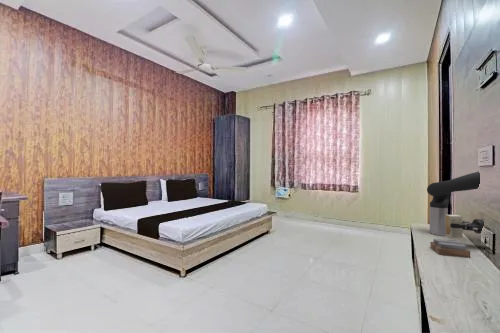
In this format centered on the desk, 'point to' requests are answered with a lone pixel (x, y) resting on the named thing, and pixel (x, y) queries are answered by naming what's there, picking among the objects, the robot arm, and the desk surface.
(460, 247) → the metal plate on wood
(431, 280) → the desk surface
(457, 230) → the skincare box
